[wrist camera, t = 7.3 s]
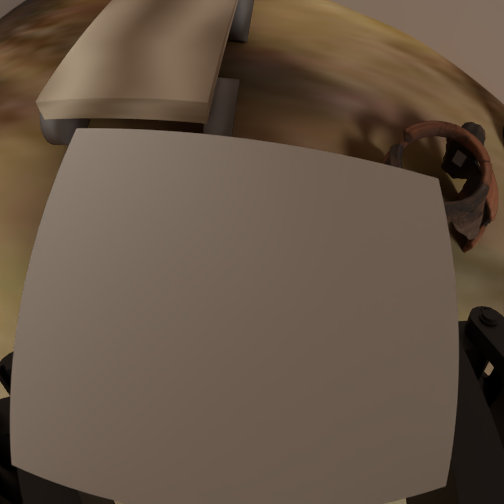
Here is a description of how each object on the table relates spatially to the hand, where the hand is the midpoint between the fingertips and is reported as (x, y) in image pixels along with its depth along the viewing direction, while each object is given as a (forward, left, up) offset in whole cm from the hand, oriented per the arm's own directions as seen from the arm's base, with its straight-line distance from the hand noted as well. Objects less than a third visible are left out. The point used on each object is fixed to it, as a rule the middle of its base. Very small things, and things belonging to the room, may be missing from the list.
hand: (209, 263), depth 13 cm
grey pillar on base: (-1, +3, -5) cm, 6 cm away
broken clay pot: (-16, -9, -6) cm, 19 cm away
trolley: (+6, -18, -5) cm, 19 cm away
